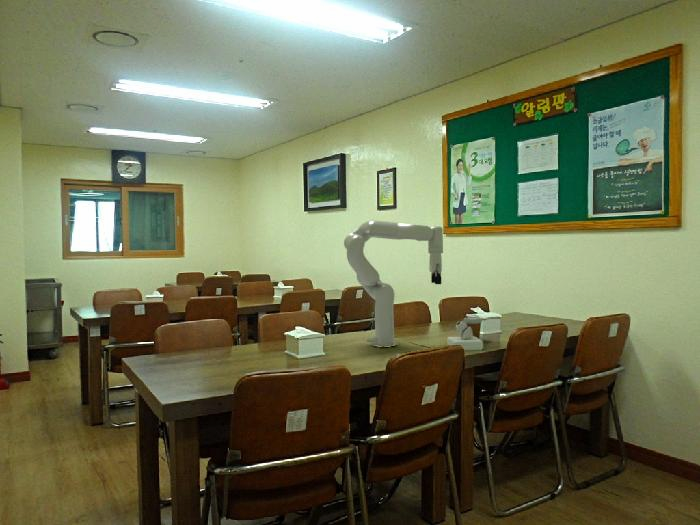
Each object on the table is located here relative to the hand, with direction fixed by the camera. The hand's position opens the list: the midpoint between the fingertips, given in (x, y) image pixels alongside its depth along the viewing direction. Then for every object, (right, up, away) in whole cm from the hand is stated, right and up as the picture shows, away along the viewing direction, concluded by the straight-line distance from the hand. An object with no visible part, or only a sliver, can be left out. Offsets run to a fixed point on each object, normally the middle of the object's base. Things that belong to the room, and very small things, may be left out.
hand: (436, 283), depth 276 cm
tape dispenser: (+11, -27, -16) cm, 33 cm away
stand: (+11, -31, -15) cm, 36 cm away
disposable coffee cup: (+19, -30, 0) cm, 35 cm away
